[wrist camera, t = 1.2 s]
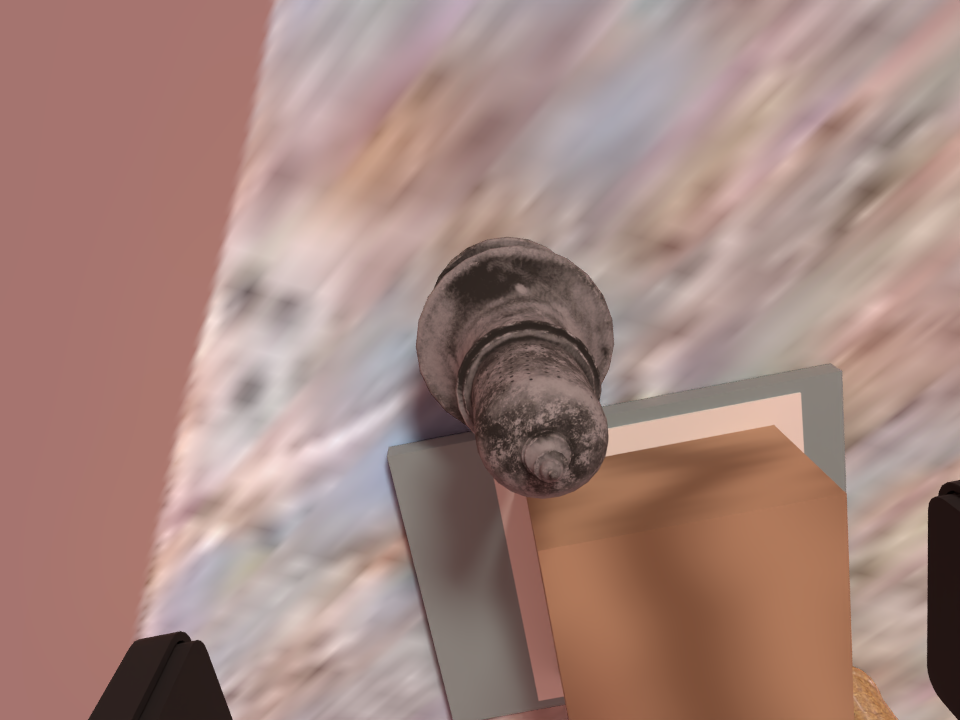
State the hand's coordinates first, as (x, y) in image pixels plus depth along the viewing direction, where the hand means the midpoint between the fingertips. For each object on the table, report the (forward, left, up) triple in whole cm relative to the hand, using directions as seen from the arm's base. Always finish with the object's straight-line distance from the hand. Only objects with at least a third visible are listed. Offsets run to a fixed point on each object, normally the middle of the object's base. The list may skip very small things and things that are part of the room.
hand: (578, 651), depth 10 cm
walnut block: (-4, +10, -16) cm, 19 cm away
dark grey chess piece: (0, 0, -17) cm, 17 cm away
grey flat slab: (-3, +10, -17) cm, 20 cm away
